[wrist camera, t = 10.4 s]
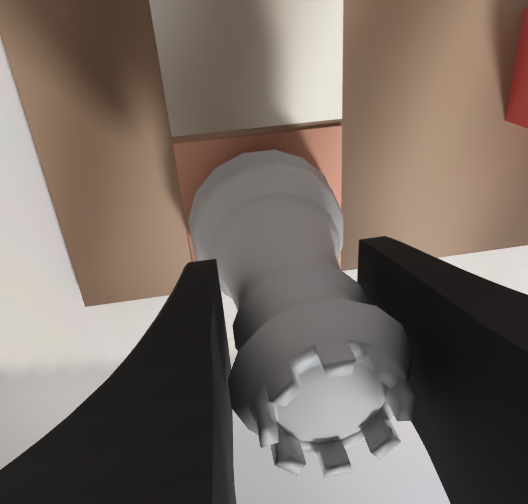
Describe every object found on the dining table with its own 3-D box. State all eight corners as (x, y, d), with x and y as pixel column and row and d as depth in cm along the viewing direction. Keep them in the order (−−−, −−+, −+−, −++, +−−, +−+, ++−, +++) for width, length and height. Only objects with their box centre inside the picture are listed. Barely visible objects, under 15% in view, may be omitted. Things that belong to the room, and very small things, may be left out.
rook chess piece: (156, 211, 13) (126, 430, 6) (275, 111, 13) (388, 238, 6) (250, 303, 16) (305, 546, 8) (359, 222, 15) (518, 417, 8)
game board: (686, -112, 12) (712, -118, 12) (587, 228, 17) (602, 235, 16) (-22, -68, 11) (-35, -72, 10) (88, 296, 15) (84, 308, 15)
